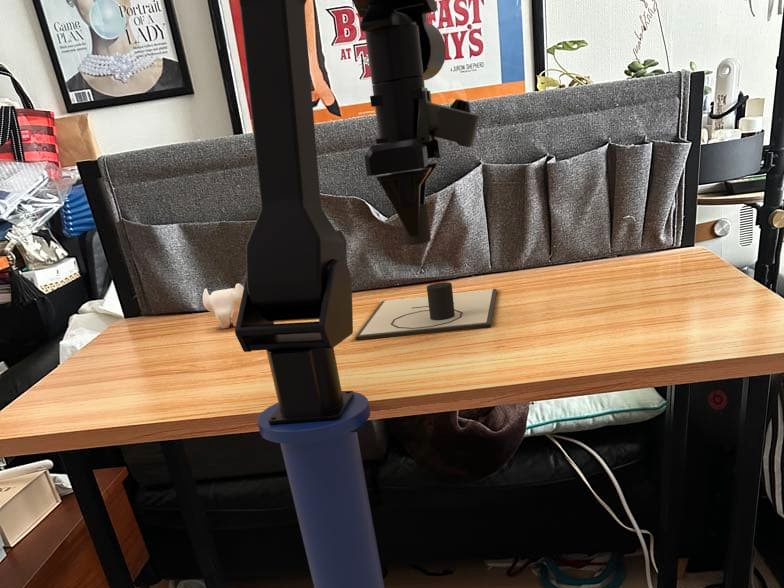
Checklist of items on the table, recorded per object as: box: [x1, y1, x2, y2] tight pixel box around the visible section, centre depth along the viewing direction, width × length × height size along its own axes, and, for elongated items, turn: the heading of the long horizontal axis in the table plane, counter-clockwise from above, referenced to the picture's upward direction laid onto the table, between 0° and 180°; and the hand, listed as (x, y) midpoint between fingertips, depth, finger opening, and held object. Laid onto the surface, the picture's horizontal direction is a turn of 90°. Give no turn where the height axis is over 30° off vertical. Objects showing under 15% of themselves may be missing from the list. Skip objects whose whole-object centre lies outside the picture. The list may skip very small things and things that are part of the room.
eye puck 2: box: [426, 281, 455, 320], centre depth 92 cm, size 3×3×4 cm
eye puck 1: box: [401, 203, 432, 246], centre depth 86 cm, size 3×3×4 cm
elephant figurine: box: [202, 283, 244, 329], centre depth 107 cm, size 7×8×6 cm
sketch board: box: [355, 288, 498, 341], centre depth 98 cm, size 20×17×1 cm
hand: (416, 233), depth 87 cm, fingers closed on eye puck 1, 3 cm apart
